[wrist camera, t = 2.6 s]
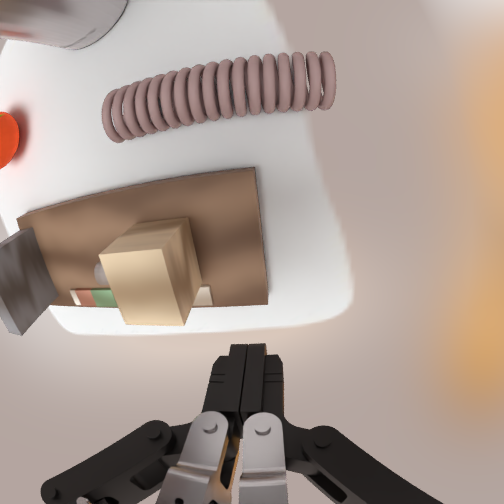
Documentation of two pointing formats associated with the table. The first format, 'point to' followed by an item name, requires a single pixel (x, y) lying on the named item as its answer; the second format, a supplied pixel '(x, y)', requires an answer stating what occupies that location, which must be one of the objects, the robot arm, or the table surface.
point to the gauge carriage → (152, 272)
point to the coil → (219, 93)
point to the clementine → (8, 138)
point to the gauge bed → (120, 220)
